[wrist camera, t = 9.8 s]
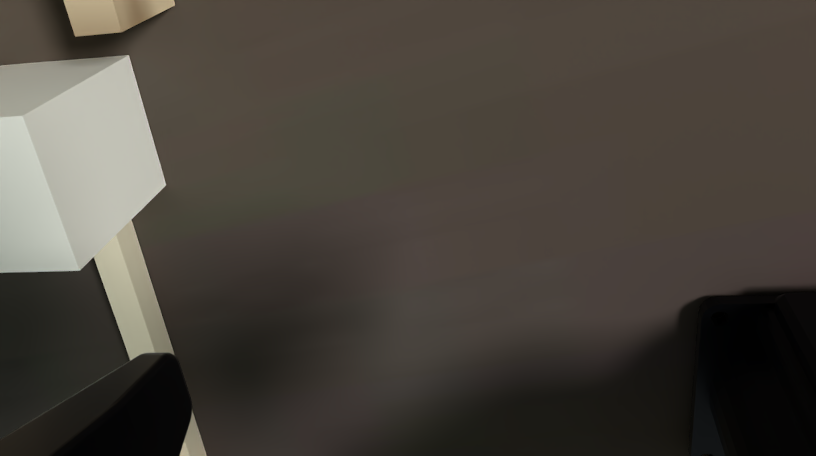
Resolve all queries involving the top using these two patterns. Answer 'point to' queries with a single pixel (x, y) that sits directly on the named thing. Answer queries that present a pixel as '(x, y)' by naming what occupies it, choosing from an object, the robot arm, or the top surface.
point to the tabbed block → (82, 186)
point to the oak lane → (111, 14)
